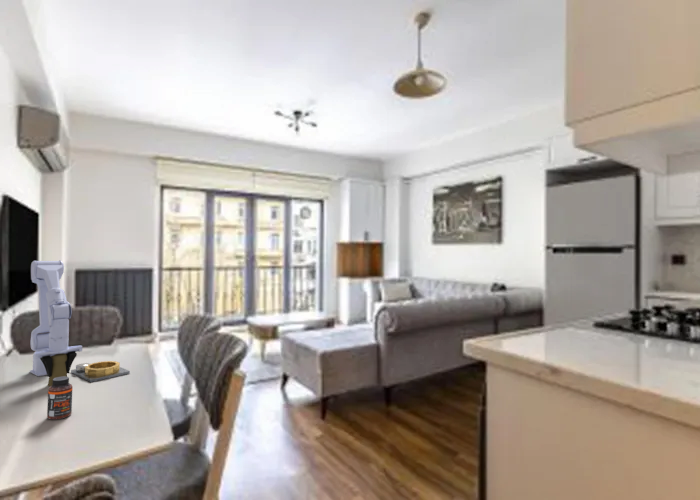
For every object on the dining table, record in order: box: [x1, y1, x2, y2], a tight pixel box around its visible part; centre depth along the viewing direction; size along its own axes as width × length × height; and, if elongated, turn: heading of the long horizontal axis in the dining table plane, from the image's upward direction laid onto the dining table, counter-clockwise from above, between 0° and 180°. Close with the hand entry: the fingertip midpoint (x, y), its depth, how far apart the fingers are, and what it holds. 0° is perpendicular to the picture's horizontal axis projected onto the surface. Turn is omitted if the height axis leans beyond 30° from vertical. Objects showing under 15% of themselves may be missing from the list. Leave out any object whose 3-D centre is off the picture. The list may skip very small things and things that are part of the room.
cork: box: [47, 353, 68, 387], centre depth 147 cm, size 6×6×11 cm
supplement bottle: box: [46, 376, 73, 420], centre depth 120 cm, size 6×6×11 cm
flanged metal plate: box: [70, 360, 131, 383], centre depth 160 cm, size 18×14×4 cm
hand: (58, 374), depth 147 cm, fingers closed on cork, 5 cm apart
